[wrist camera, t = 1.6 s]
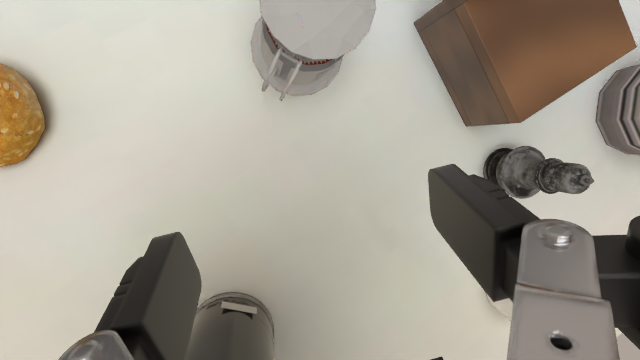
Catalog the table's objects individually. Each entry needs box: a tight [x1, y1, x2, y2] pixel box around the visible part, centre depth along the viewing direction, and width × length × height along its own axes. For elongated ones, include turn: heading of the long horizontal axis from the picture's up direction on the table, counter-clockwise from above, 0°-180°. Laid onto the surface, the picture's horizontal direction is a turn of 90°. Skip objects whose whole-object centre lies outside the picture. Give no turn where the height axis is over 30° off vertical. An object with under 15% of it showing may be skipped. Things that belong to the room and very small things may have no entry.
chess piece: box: [484, 146, 594, 199], centre depth 38 cm, size 6×6×12 cm
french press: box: [251, 0, 376, 101], centre depth 26 cm, size 10×12×25 cm
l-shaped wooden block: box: [414, 0, 637, 126], centre depth 33 cm, size 13×14×18 cm
